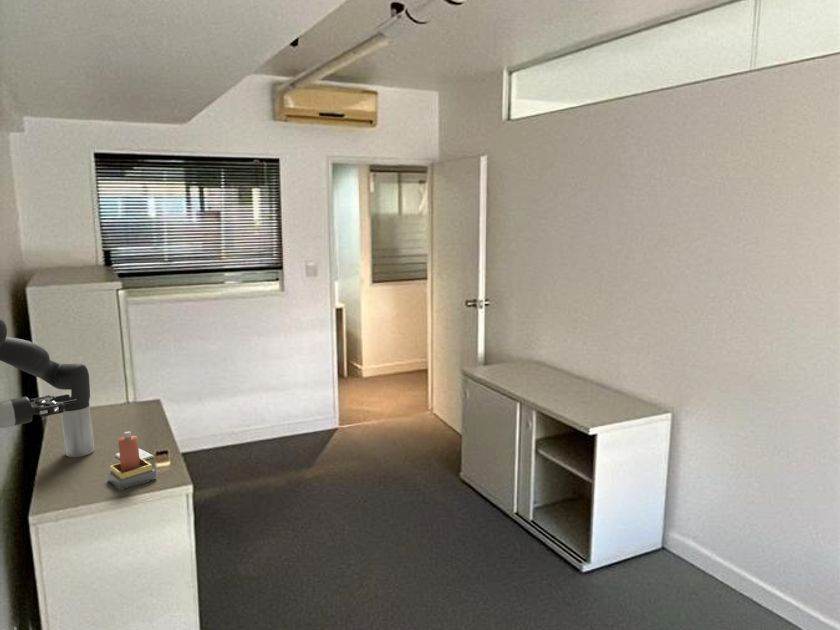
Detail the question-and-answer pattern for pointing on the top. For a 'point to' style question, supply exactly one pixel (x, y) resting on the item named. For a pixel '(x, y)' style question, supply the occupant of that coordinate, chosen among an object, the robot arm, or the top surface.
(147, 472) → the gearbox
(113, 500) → the top surface
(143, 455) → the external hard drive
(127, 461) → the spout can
